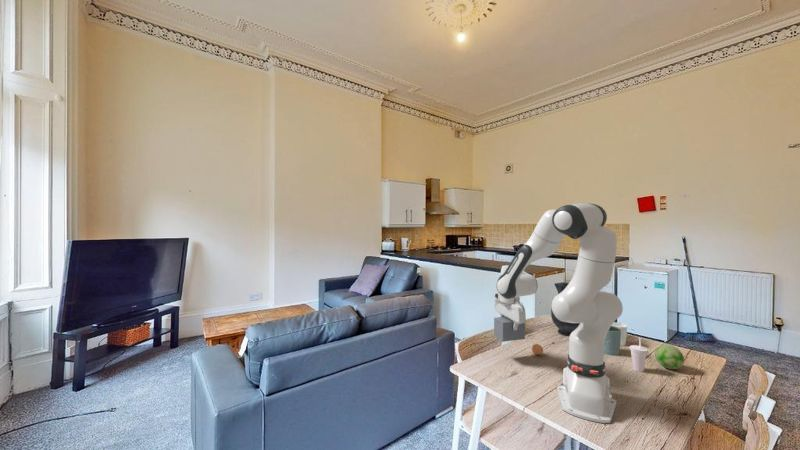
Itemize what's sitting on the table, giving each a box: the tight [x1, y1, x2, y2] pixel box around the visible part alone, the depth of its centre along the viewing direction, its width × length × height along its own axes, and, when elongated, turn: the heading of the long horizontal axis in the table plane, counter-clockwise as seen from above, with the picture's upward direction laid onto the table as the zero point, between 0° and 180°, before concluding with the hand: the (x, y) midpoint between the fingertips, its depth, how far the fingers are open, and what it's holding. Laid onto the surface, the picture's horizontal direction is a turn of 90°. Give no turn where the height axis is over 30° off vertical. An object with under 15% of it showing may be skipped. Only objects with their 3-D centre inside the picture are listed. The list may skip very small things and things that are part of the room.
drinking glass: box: [604, 326, 621, 356], centre depth 155 cm, size 10×10×12 cm
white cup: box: [611, 321, 628, 347], centre depth 165 cm, size 8×8×10 cm
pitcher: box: [550, 281, 580, 337], centre depth 178 cm, size 17×21×30 cm
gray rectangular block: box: [493, 316, 526, 342], centre depth 148 cm, size 12×7×9 cm, turn 105°
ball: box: [531, 343, 544, 356], centre depth 151 cm, size 5×5×5 cm
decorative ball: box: [654, 344, 685, 370], centre depth 138 cm, size 10×10×10 cm
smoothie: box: [629, 337, 649, 373], centre depth 136 cm, size 6×6×14 cm
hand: (509, 326), depth 148 cm, fingers closed on gray rectangular block, 7 cm apart
